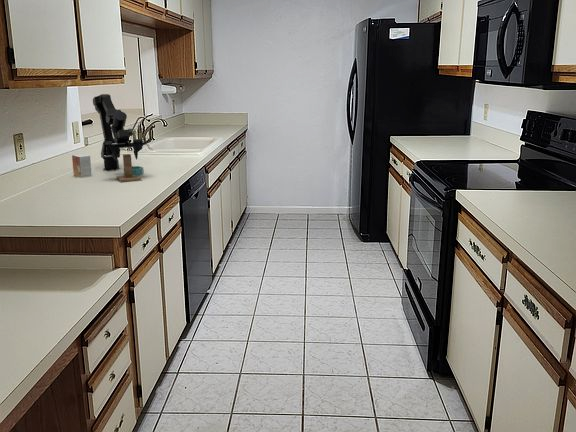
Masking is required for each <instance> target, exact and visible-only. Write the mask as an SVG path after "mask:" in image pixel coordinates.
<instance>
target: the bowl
mask: <svg viewBox="0 0 576 432" xmlns="http://www.w3.org/2000/svg"><path fill="white" fill-rule="evenodd" d="M144 171H145V169H144V167H143V166H140V165H138V166H135V165H132V175H137V176H142V175H144Z"/></svg>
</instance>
